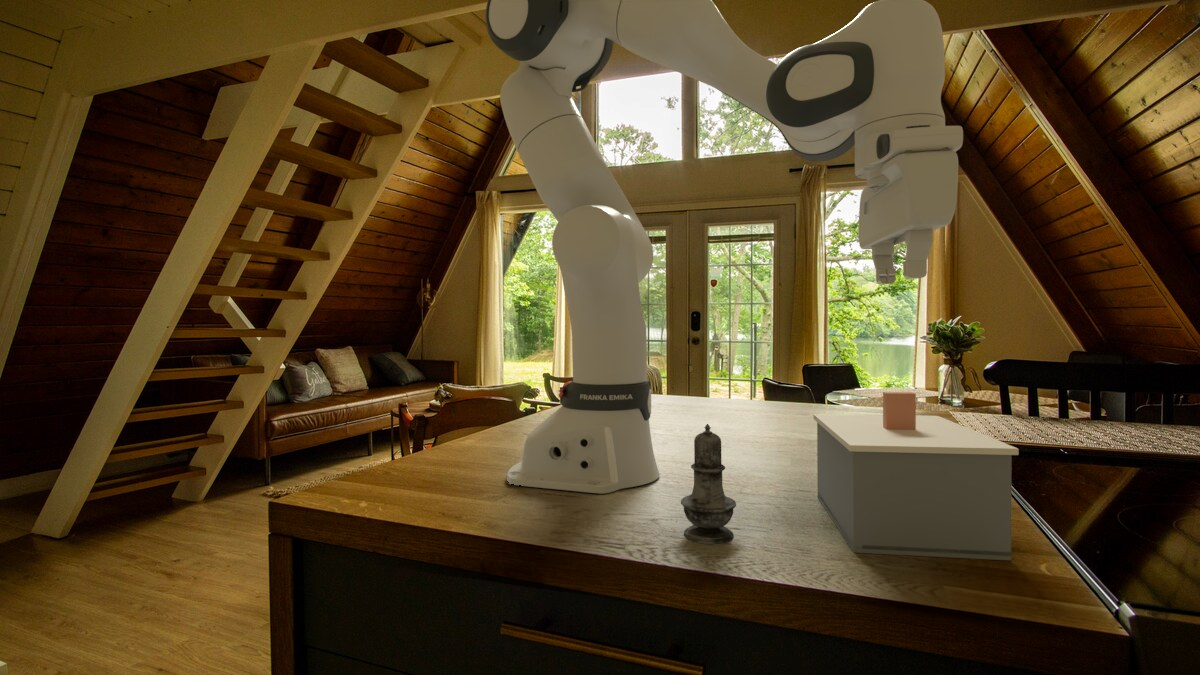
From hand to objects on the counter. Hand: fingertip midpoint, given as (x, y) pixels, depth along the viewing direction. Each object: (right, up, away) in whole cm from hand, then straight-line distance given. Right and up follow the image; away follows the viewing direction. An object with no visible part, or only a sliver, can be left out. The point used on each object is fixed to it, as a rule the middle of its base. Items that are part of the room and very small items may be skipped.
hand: (899, 281), depth 64 cm
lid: (0, -17, 0) cm, 17 cm away
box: (0, -27, +1) cm, 27 cm away
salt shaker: (-21, -28, -2) cm, 35 cm away
